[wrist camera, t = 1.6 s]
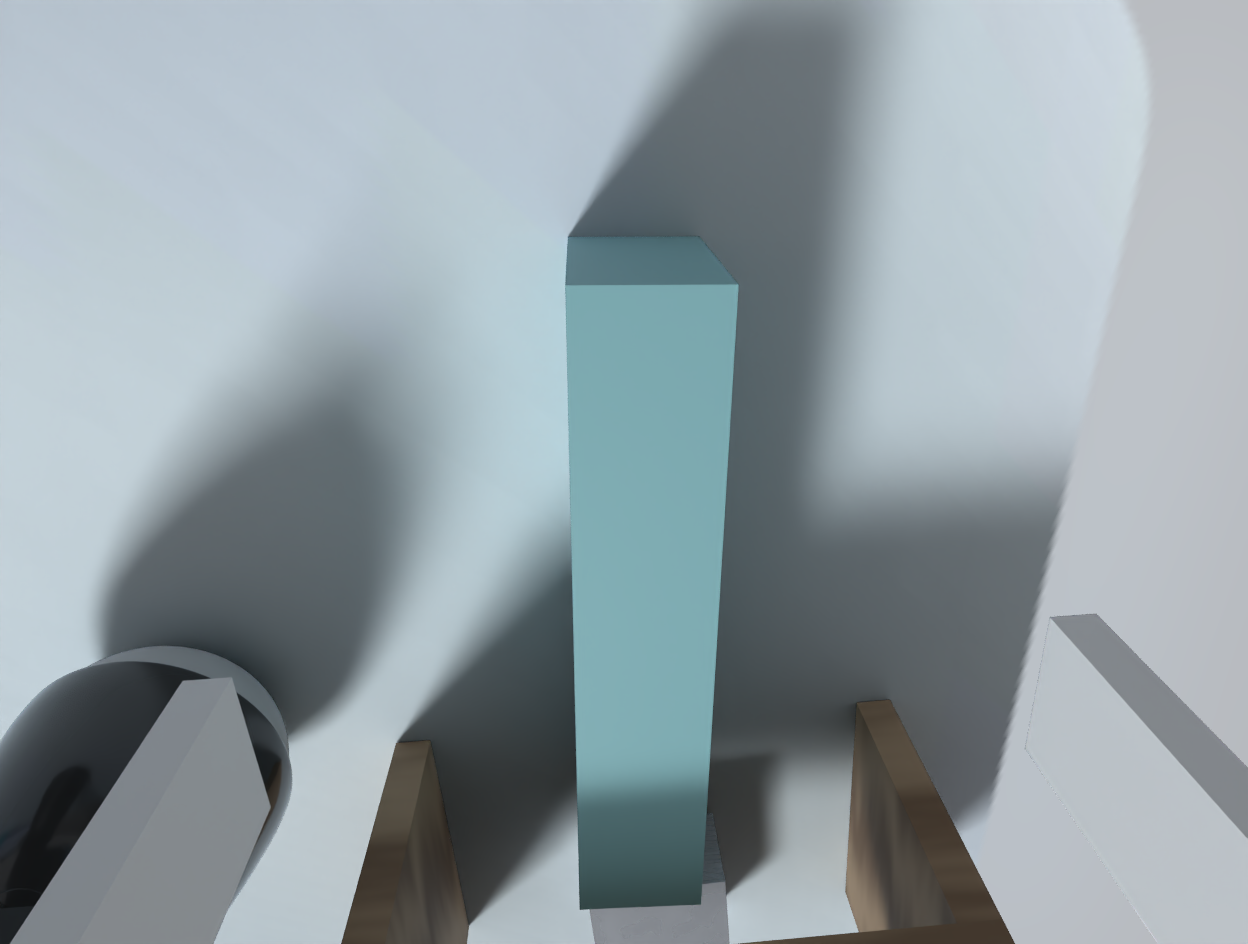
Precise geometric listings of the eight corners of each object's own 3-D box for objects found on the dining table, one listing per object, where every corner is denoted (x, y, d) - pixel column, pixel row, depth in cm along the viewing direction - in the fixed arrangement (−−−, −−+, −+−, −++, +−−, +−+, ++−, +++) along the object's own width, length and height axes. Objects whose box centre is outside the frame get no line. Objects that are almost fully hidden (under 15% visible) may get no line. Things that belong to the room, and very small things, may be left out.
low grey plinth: (586, 824, 40) (587, 897, 37) (712, 810, 40) (725, 881, 37) (600, 911, 43) (602, 987, 39) (718, 898, 43) (731, 973, 39)
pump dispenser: (326, 621, 35) (161, 973, 21) (310, 809, 39) (163, 1207, 25) (61, 583, 33) (-302, 933, 20) (73, 781, 38) (-220, 1187, 24)
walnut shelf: (396, 742, 38) (318, 1028, 26) (889, 699, 38) (1024, 961, 27) (438, 929, 42) (388, 1236, 31) (874, 889, 43) (982, 1178, 32)
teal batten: (568, 235, 29) (565, 285, 22) (698, 235, 29) (738, 284, 22) (579, 754, 39) (579, 909, 31) (677, 751, 39) (701, 904, 32)
